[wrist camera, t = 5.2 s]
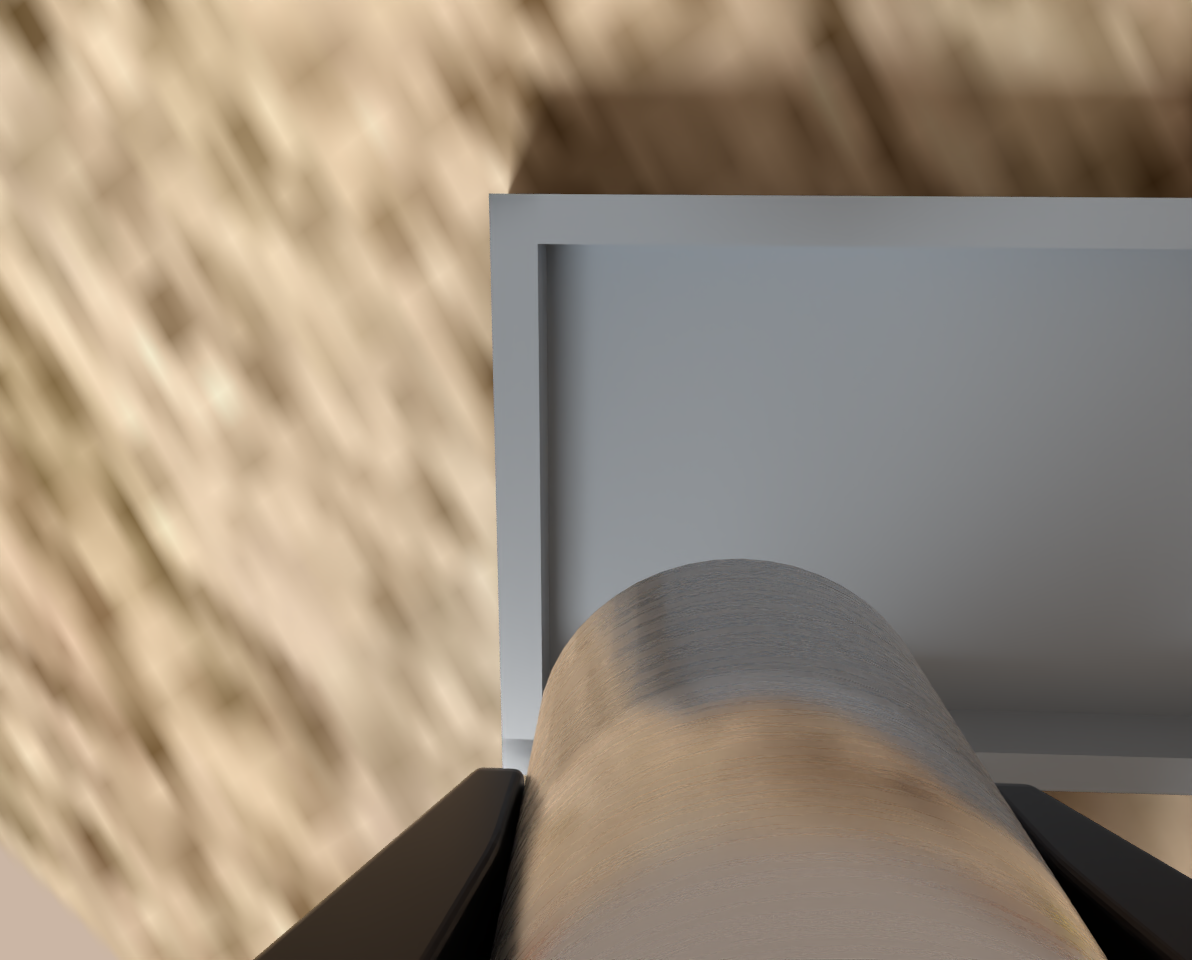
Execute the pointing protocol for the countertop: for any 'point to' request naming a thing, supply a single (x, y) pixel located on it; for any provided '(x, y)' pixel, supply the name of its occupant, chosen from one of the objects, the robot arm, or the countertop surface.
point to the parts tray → (868, 443)
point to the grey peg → (763, 792)
